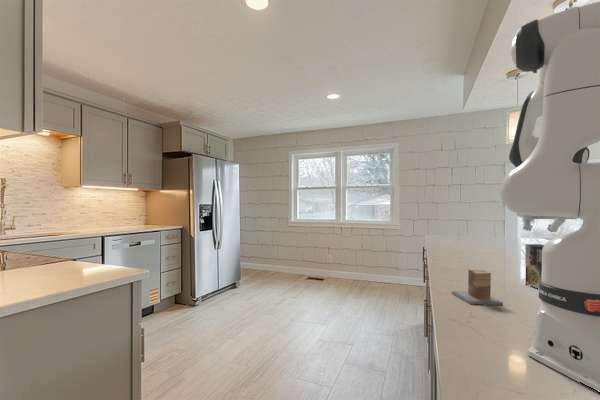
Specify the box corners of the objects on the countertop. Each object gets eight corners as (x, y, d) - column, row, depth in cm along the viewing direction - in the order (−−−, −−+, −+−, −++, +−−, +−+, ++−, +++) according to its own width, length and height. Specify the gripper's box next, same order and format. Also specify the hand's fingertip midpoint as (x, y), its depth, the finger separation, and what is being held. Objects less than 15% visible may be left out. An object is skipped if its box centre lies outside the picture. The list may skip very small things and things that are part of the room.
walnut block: (490, 298, 94) (490, 273, 94) (476, 298, 94) (476, 272, 94) (481, 294, 98) (482, 269, 99) (467, 294, 98) (468, 269, 99)
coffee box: (561, 292, 107) (561, 247, 107) (543, 291, 107) (543, 246, 107) (541, 285, 116) (541, 243, 116) (524, 284, 116) (524, 243, 116)
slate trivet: (502, 305, 91) (502, 302, 91) (470, 304, 91) (470, 301, 91) (480, 294, 102) (480, 291, 102) (451, 293, 102) (451, 290, 102)
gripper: (519, 189, 104) (505, 225, 103) (575, 182, 84) (558, 227, 83) (535, 197, 104) (521, 233, 103) (595, 192, 84) (578, 236, 83)
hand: (538, 230), depth 93 cm, fingers open, 8 cm apart
